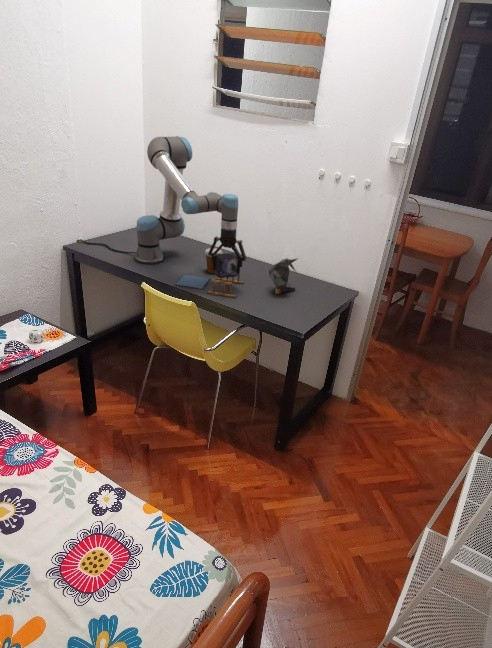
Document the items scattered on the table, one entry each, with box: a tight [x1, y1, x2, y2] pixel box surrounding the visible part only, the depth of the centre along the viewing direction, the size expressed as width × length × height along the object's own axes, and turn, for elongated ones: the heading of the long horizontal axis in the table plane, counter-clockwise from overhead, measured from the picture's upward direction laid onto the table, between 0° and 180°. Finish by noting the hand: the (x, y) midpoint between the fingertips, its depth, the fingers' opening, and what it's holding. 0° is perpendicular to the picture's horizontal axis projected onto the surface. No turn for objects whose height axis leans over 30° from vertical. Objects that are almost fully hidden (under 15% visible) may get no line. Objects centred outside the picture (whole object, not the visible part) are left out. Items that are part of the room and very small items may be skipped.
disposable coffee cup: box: [204, 247, 223, 274], centre depth 249 cm, size 10×10×12 cm
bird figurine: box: [268, 257, 299, 295], centre depth 235 cm, size 14×15×18 cm
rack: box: [207, 271, 244, 299], centre depth 234 cm, size 14×19×7 cm
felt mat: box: [175, 273, 210, 290], centre depth 238 cm, size 14×14×1 cm
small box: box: [214, 252, 239, 279], centre depth 229 cm, size 11×6×10 cm, turn 117°
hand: (226, 270), depth 231 cm, fingers closed on small box, 12 cm apart
